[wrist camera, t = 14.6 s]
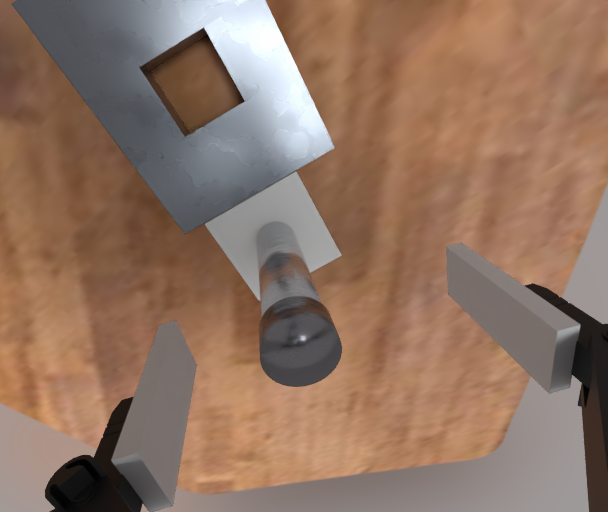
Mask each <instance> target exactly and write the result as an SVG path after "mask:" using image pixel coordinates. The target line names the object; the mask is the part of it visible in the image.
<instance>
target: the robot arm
mask: <svg viewBox="0 0 608 512" xmlns="http://www.w3.org/2000/svg"><path fill="white" fill-rule="evenodd" d="M446 253H447V278H448V295H449V296H450V297H451V298H452V299H453V300H454V301H456V302H457V303H458V304H459V305H460V306H461V307H462V308H463V309H464V310H465V311H466V312H467V313H468V314H469V315H470V316H471V317H472V318H473V319H474V320H475V321H476V322H477V323H478V324H479V325H480V326H481V327H482V328H483V329H484V330H485V331H486V332H487V333H488V334H489V335H490V336H491V337H492V338H493V339H494V340H495V341H496V342H497V343H498V344H499V345H500V346H501V347H502V348H503V349H504V350H505V351H506V352H507V353H508V354H509V355H510V356H511V357H512V358H513V359H514V360H515V361H516V362H517V363H518V364H519V365H520V366H521V367H522V368H523V369H524V370H525V371H526V372H527V373H528V374H530V375H531V376H532V377H533V378H534V379H535V380H536V381H537V382H538V383H539V384H540V385H541V386H542V387H543V388H544V389H545V390H546V391H547V392H548V393H549V394H550V393H553V392H557V391H560V390H564V389H567V388H570V384H571V378H572V375H573V376H575V377H576V378H577V379H578V380H579V381H580V382H582V385H581V390H580V396H579V401H578V406H581V407H582V417H583V431H584V445H585V460H586V474H587V488H588V501H589V512H608V324H601V323H600V322H598V321H597V320H595V319H594V318H592V317H591V316H589V315H588V314H586V313H584V312H583V311H581V310H580V309H578V308H577V307H575V306H574V305H572V304H570V303H568V302H567V301H566V300H564V299H563V298H561V297H560V298H559V296H558V295H557V294H555V293H553V292H552V291H550V290H549V289H547V288H544V287H542V286H539V285H536V284H533V283H532V284H529V285H525V286H524V285H522V284H521V283H519V282H518V281H517V280H515V279H514V278H512V277H511V276H509V275H508V274H506V273H505V272H504V271H502V270H501V269H499V268H498V267H496V266H495V265H493V264H492V263H490V262H489V261H488V260H486V259H485V258H483V257H482V256H480V255H479V254H477V253H476V252H475V251H473V250H472V249H470V248H469V247H467V246H466V245H464V244H463V243H458V244H454V245H450V246H447V247H446ZM196 366H197V364H196V362H195V360H194V358H193V356H192V353H191V351H190V349H189V347H188V345H187V343H186V341H185V339H184V337H183V334H182V332H181V330H180V328H179V326H178V324H177V322H176V321H172V322H169V323H165V324H161V325H159V328H158V331H157V333H156V336H155V339H154V342H153V345H152V347H151V350H150V353H149V356H148V359H147V361H146V364H145V367H144V370H143V373H142V375H141V378H140V381H139V384H138V387H137V389H136V392H135V395H134V397H131V398H128V399H124V400H122V401H121V402H120V403H119V405H118V406H117V407H116V408H115V410H114V411H113V412H112V414H111V417H110V419H109V422H108V424H107V428H106V429H105V431H104V434H103V438H102V439H101V441H100V444H99V446H98V449H97V451H96V454H95V456H94V458H93V457H91V456H90V455H81V456H78V457H76V458H73V459H72V460H70V461H68V462H67V463H65V464H64V465H63V466H62V467H61V468H60V469H58V470H57V471H56V472H55V473H54V475H53V476H52V478H51V479H50V481H49V482H48V484H47V487H46V489H45V498H46V499H47V500H48V501H49V502H50V503H51V504H52V505H53V506H54V507H55V509H54V510H52V511H50V512H140V511H141V507H142V503H143V504H144V506H145V507H146V508H147V510H148V511H149V512H154V511H157V510H161V509H164V508H168V507H171V506H173V502H174V497H175V491H176V485H177V479H178V473H179V467H180V461H181V455H182V449H183V444H184V438H185V432H186V426H187V420H188V414H189V408H190V402H191V396H192V390H193V384H194V378H195V372H196Z"/></svg>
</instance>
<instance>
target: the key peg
mask: <svg viewBox="0 0 608 512" xmlns="http://www.w3.org/2000/svg"><path fill="white" fill-rule="evenodd" d="M256 245H257V259H258V272H259V285H260V299H261V312H262V318H261V320H260V324H259V345H260V360H261V365H262V368H263V370H264V371H265V373H266V374H267V375H268V376H269V377H270V378H271V379H272V380H274V381H275V382H277V383H280V384H282V385H286V386H293V387H300V386H307V385H311V384H314V383H316V382H319V381H321V380H322V379H324V378H325V377H327V376H328V375H329V374H330V373H331V372H332V371H333V370H334V369H335V368H336V366H337V365H338V363H339V360H340V358H341V353H342V346H341V341H340V338H339V336H338V333H337V331H336V328H335V326H334V323H333V321H332V318H331V316H330V313H329V312H328V310H327V308H326V307H325V306H324V305H323V304H322V303H321V301H320V298H319V296H318V293H317V290H316V288H315V285H314V282H313V280H312V277H311V274H310V272H309V269H308V266H307V264H306V261H305V258H304V256H303V253H302V250H301V248H300V245H299V242H298V240H297V237H296V234H295V232H294V230H293V229H292V228H291V227H290V226H289V225H287V224H285V223H283V222H271V223H268V224H266V225H265V226H263V227H262V228H261V229H260V231H259V232H258V234H257V238H256Z"/></svg>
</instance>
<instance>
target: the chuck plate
mask: <svg viewBox="0 0 608 512" xmlns="http://www.w3.org/2000/svg"><path fill="white" fill-rule="evenodd" d="M12 5H13V6H14V8H15V9H16V10H17V12H18V13H19V14H20V16H21V17H22V18H23V20H24V21H25V22H26V24H27V25H28V26H29V28H30V29H31V30H32V32H33V33H34V34H35V36H36V37H37V38H38V40H39V41H40V42H41V44H42V45H43V46H44V48H45V49H46V50H47V52H48V53H49V54H50V56H51V57H52V58H53V60H54V61H55V62H56V64H57V65H58V66H59V68H60V69H61V70H62V72H63V73H64V74H65V76H66V77H67V78H68V80H69V81H70V82H71V84H72V85H73V86H74V88H75V89H76V90H77V92H78V93H79V94H80V96H81V97H82V98H83V99H84V101H85V102H86V103H87V105H88V106H89V107H90V109H91V110H92V111H93V113H94V114H95V115H96V117H97V118H98V119H99V121H100V122H101V123H102V125H103V126H104V127H105V129H106V130H107V131H108V133H109V134H110V135H111V137H112V138H113V139H114V141H115V142H116V143H117V145H118V146H119V147H120V149H121V150H122V151H123V153H124V154H125V155H126V157H127V158H128V159H129V161H130V162H131V163H132V165H133V166H134V167H135V169H136V170H137V171H138V173H139V174H140V175H141V177H142V178H143V179H144V181H145V182H146V183H147V185H148V186H149V187H150V189H151V190H152V191H153V193H154V194H155V195H156V197H157V198H158V199H159V200H160V202H161V203H162V204H163V206H164V207H165V208H166V210H167V211H168V212H169V214H170V215H171V216H172V218H173V219H174V220H175V222H176V223H177V224H178V226H179V227H180V228H181V230H182V231H183V232H184V234H186V233H188V232H190V231H191V230H193V229H195V228H197V227H198V226H200V225H202V224H203V223H205V222H207V221H209V220H210V219H212V218H214V217H216V216H217V215H219V214H221V213H223V212H224V211H226V210H228V209H230V208H231V207H233V206H235V205H236V204H238V203H240V202H242V201H243V200H245V199H247V198H249V197H250V196H252V195H254V194H256V193H257V192H259V191H261V190H262V189H264V188H266V187H268V186H269V185H271V184H273V183H275V182H276V181H278V180H280V179H282V178H283V177H285V176H287V175H289V174H290V173H292V172H294V171H295V170H297V169H299V168H301V167H302V166H304V165H306V164H308V163H309V162H311V161H313V160H315V159H316V158H318V157H320V156H322V155H323V154H325V153H327V152H328V151H330V150H332V149H334V148H335V147H334V145H333V142H332V140H331V138H330V136H329V134H328V132H327V130H326V128H325V126H324V123H323V121H322V119H321V117H320V115H319V113H318V111H317V109H316V107H315V104H314V102H313V100H312V98H311V96H310V94H309V92H308V90H307V87H306V85H305V83H304V81H303V79H302V77H301V75H300V73H299V71H298V68H297V66H296V64H295V62H294V60H293V58H292V56H291V54H290V52H289V49H288V47H287V45H286V43H285V41H284V39H283V37H282V35H281V33H280V30H279V28H278V26H277V24H276V22H275V20H274V18H273V16H272V14H271V11H270V9H269V7H268V5H267V3H266V1H265V0H16V1H15V2H13V3H12ZM206 35H208V36H209V38H210V39H211V41H212V43H213V45H214V47H215V48H216V50H217V52H218V54H219V56H220V57H221V59H222V61H223V63H224V65H225V66H226V68H227V70H228V72H229V74H230V75H231V77H232V79H233V81H234V83H235V84H236V86H237V88H238V90H239V91H240V93H241V95H242V97H243V99H244V100H245V102H243V103H241V104H240V105H238V106H236V107H235V108H233V109H231V110H230V111H228V112H226V113H225V114H223V115H221V116H220V117H218V118H216V119H215V120H213V121H211V122H210V123H208V124H206V125H205V126H203V127H201V128H200V129H198V130H196V131H195V132H193V133H191V134H190V133H189V131H188V130H187V128H186V126H185V125H184V123H183V122H182V120H181V119H180V117H179V116H178V114H177V113H176V111H175V110H174V108H173V106H172V105H171V103H170V102H169V100H168V99H167V97H166V96H165V94H164V93H163V91H162V89H161V88H160V86H159V85H158V83H157V82H156V80H155V79H154V77H153V76H152V74H151V73H150V70H151V69H153V68H155V67H156V66H158V65H159V64H161V63H163V62H164V61H166V60H167V59H169V58H171V57H172V56H174V55H176V54H177V53H179V52H180V51H182V50H184V49H185V48H187V47H189V46H190V45H192V44H193V43H195V42H197V41H198V40H200V39H201V38H203V37H205V36H206Z"/></svg>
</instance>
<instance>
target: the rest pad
mask: <svg viewBox="0 0 608 512" xmlns="http://www.w3.org/2000/svg"><path fill="white" fill-rule="evenodd" d="M271 222H283V223H285V224H287V225H289V226H290V227H291V228H292V229H293V230H294V232H295V234H296V237H297V240H298V242H299V245H300V248H301V250H302V253H303V256H304V258H305V261H306V264H307V266H308V269H309V272H310V273H311V272H313V271H314V270H316V269H318V268H320V267H322V266H324V265H325V264H327V263H329V262H331V261H333V260H334V259H336V258H338V257H340V256H342V255H341V253H340V251H339V249H338V248H337V246H336V244H335V242H334V240H333V238H332V237H331V235H330V233H329V231H328V229H327V227H326V225H325V224H324V222H323V220H322V218H321V216H320V214H319V212H318V211H317V209H316V207H315V205H314V203H313V201H312V199H311V198H310V196H309V194H308V192H307V190H306V188H305V187H304V185H303V183H302V181H301V179H300V177H299V175H298V174H297V172H296V170H295V171H294V172H292V173H290V174H289V175H287V176H285V177H283V178H282V179H280V180H278V181H276V182H275V183H273V184H271V185H269V186H268V187H266V188H264V189H262V190H261V191H259V192H257V193H256V194H254V195H252V196H250V197H249V198H247V199H245V200H243V201H242V202H240V203H238V204H236V205H235V206H233V207H231V208H230V209H228V210H226V211H224V212H223V213H221V214H219V215H217V216H216V217H214V218H212V219H210V220H209V221H207V222H205V223H204V225H205V226H206V227H207V229H208V230H209V232H210V233H211V234H212V236H213V237H214V239H215V240H216V241H217V243H218V244H219V246H220V247H221V248H222V250H223V251H224V253H225V254H226V255H227V257H228V258H229V260H230V261H231V262H232V264H233V265H234V267H235V268H236V269H237V271H238V272H239V274H240V275H241V276H242V278H243V279H244V281H245V282H246V283H247V285H248V286H249V288H250V289H251V290H252V292H253V293H254V295H255V296H256V297H257V299H258V300H259V301H260V300H261V299H260V285H259V272H258V259H257V245H256V238H257V234H258V232H259V231H260V229H261V228H262V227H263V226H265V225H266V224H268V223H271Z"/></svg>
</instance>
